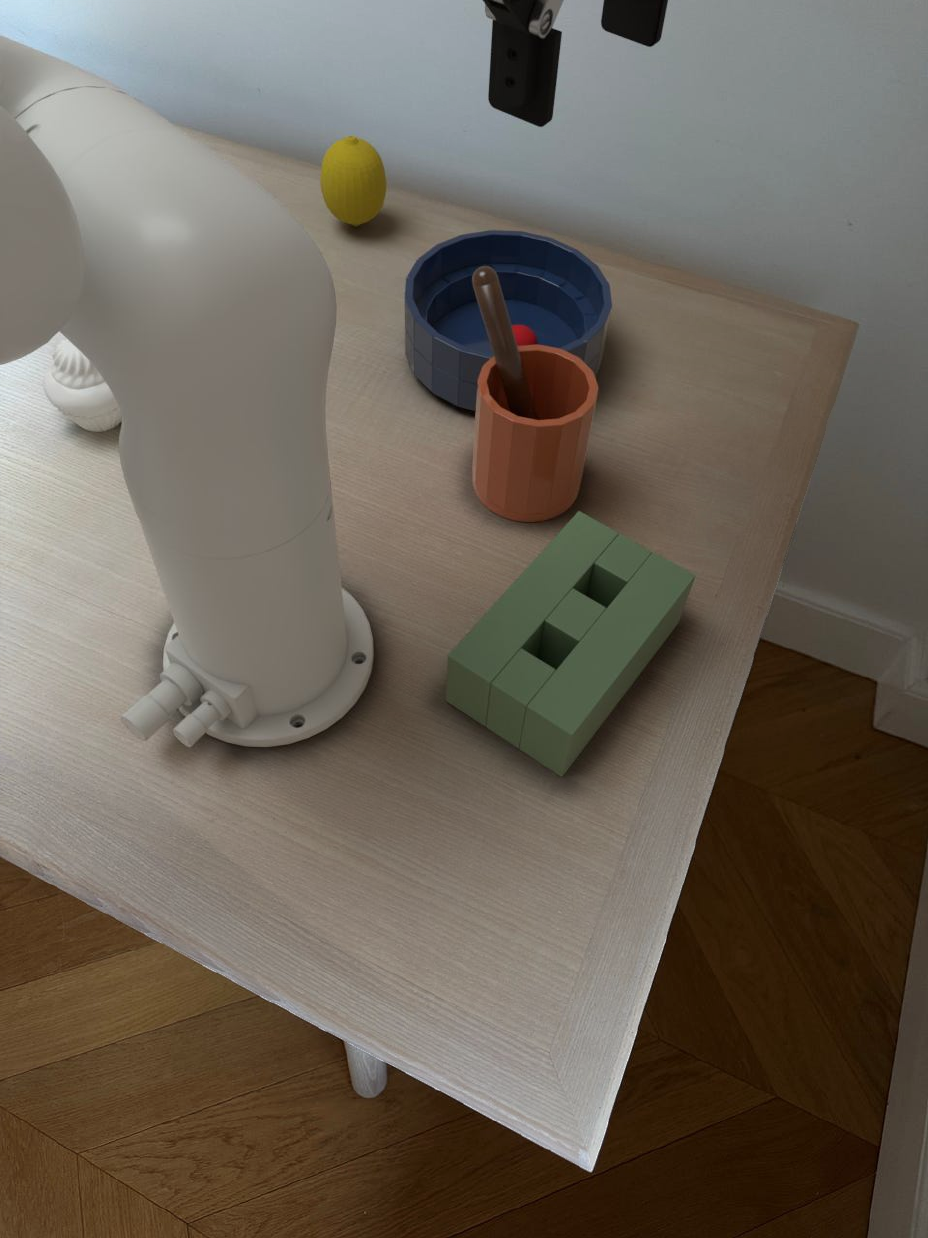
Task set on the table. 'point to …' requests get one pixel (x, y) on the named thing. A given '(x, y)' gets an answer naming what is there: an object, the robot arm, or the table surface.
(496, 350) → the stick
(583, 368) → the crock
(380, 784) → the table surface
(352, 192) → the lemon
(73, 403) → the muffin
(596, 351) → the bowl
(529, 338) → the berry
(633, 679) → the holder
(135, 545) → the table surface
